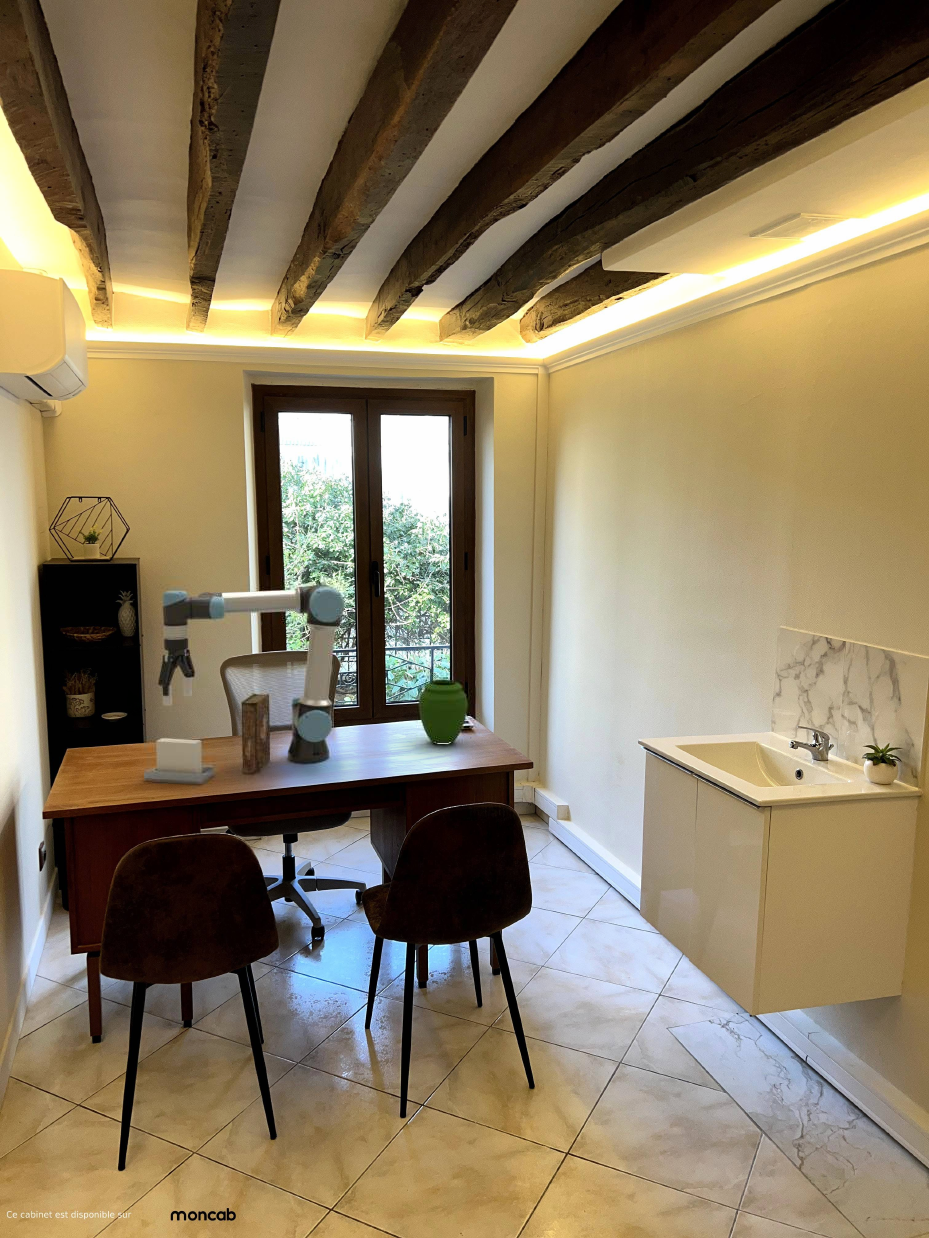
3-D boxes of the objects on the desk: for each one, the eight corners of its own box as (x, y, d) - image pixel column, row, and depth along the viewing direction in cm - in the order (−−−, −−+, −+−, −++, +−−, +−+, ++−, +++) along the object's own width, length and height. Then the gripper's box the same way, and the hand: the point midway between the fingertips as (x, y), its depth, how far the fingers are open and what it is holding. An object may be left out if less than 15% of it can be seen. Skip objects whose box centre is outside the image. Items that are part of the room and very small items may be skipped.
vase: (416, 736, 333) (417, 677, 330) (464, 735, 335) (465, 677, 332) (419, 749, 314) (420, 687, 311) (469, 749, 316) (470, 687, 313)
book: (257, 774, 281) (256, 703, 278) (241, 774, 281) (240, 702, 278) (270, 760, 297) (269, 693, 294) (255, 760, 297) (254, 692, 294)
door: (202, 774, 276) (201, 739, 275) (196, 778, 272) (195, 743, 271) (164, 771, 278) (163, 737, 277) (157, 775, 274) (156, 741, 273)
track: (214, 775, 278) (213, 765, 278) (201, 784, 269) (200, 774, 269) (159, 772, 281) (159, 762, 281) (144, 780, 272) (144, 770, 271)
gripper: (183, 632, 282) (185, 692, 285) (145, 642, 258) (147, 708, 260) (204, 633, 281) (205, 693, 284) (167, 643, 257) (169, 709, 259)
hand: (177, 700), depth 272 cm, fingers open, 13 cm apart
